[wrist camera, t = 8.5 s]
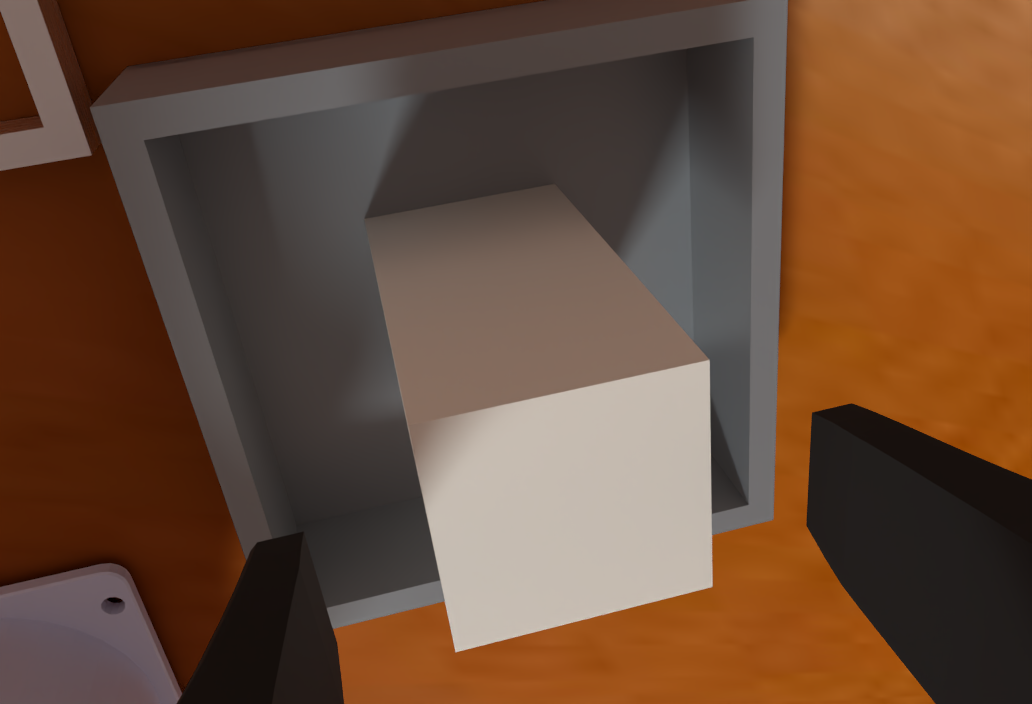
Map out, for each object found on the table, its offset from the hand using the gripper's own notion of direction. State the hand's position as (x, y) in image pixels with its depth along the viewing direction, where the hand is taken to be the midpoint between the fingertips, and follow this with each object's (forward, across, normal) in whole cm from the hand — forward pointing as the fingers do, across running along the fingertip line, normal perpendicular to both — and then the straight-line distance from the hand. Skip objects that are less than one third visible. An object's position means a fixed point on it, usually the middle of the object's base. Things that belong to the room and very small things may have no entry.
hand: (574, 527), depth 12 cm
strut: (+8, 0, 0) cm, 8 cm away
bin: (+9, 0, 0) cm, 9 cm away
